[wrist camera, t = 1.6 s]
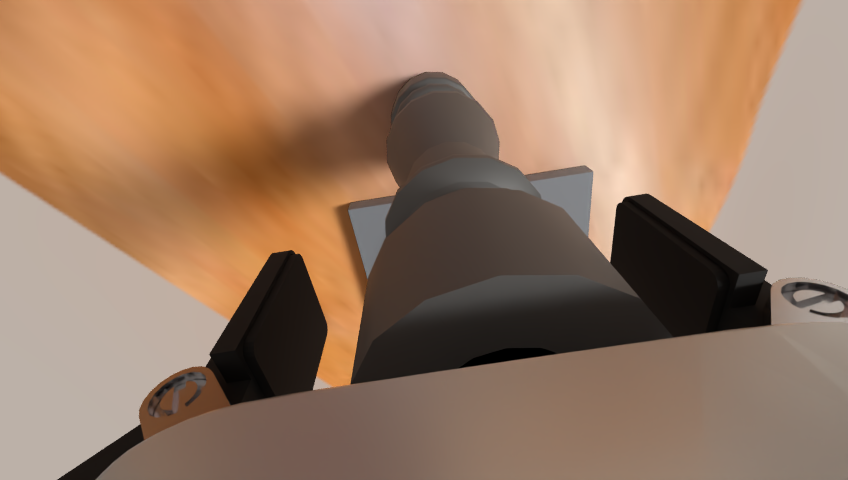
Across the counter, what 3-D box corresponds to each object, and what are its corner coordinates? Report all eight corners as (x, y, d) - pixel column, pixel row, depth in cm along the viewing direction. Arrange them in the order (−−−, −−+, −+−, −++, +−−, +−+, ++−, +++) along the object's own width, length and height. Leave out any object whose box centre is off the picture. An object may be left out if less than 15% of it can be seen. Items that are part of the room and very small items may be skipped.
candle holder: (461, 162, 30) (595, 505, 8) (386, 146, 29) (319, 484, 8) (483, 82, 27) (778, 293, 5) (400, 62, 26) (359, 219, 5)
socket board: (585, 165, 31) (614, 188, 26) (577, 280, 37) (600, 314, 32) (350, 202, 31) (341, 230, 27) (380, 309, 37) (376, 345, 33)
